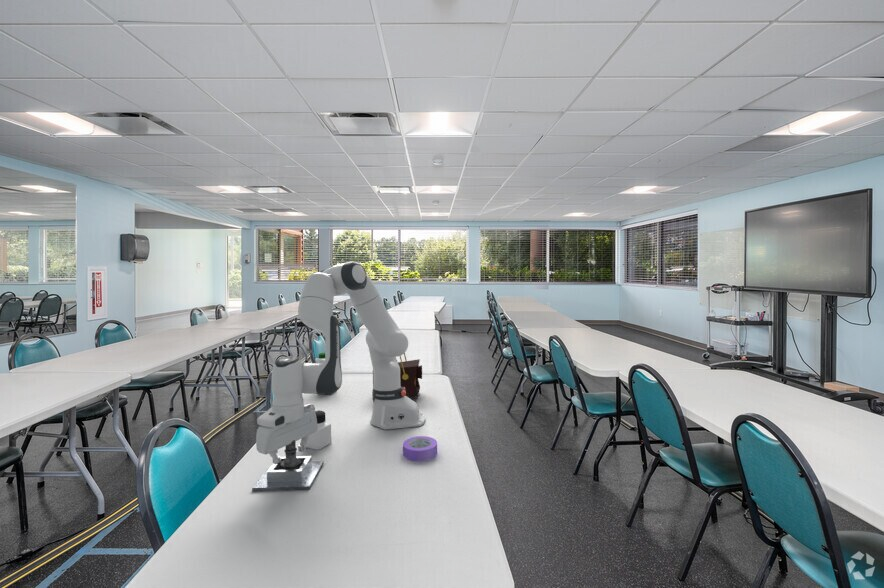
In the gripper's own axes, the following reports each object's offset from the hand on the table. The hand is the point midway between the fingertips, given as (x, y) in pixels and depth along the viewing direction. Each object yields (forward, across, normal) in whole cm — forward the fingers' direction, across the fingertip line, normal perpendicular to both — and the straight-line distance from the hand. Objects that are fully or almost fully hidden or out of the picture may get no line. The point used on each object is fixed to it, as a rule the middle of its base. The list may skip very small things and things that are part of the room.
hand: (289, 456), depth 124 cm
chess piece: (+5, 0, 0) cm, 5 cm away
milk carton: (+6, -72, -55) cm, 91 cm away
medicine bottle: (+6, -21, -10) cm, 24 cm away
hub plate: (+6, 0, 0) cm, 6 cm away
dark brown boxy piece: (+6, -82, -17) cm, 84 cm away
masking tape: (+7, -32, +27) cm, 42 cm away
